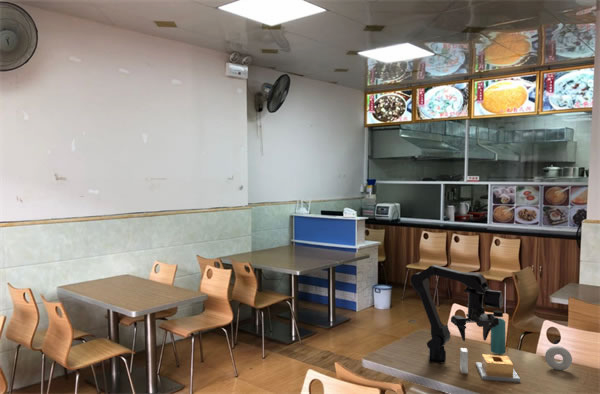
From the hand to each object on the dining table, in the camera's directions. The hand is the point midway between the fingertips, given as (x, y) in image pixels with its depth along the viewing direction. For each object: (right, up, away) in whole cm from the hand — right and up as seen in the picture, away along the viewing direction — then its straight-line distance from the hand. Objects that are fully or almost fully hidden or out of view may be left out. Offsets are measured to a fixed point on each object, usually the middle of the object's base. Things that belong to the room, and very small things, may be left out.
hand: (474, 340), depth 192 cm
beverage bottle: (+17, -12, +17) cm, 27 cm away
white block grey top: (-5, -12, -1) cm, 13 cm away
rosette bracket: (+8, -12, -4) cm, 15 cm away
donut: (+35, -13, 0) cm, 37 cm away
